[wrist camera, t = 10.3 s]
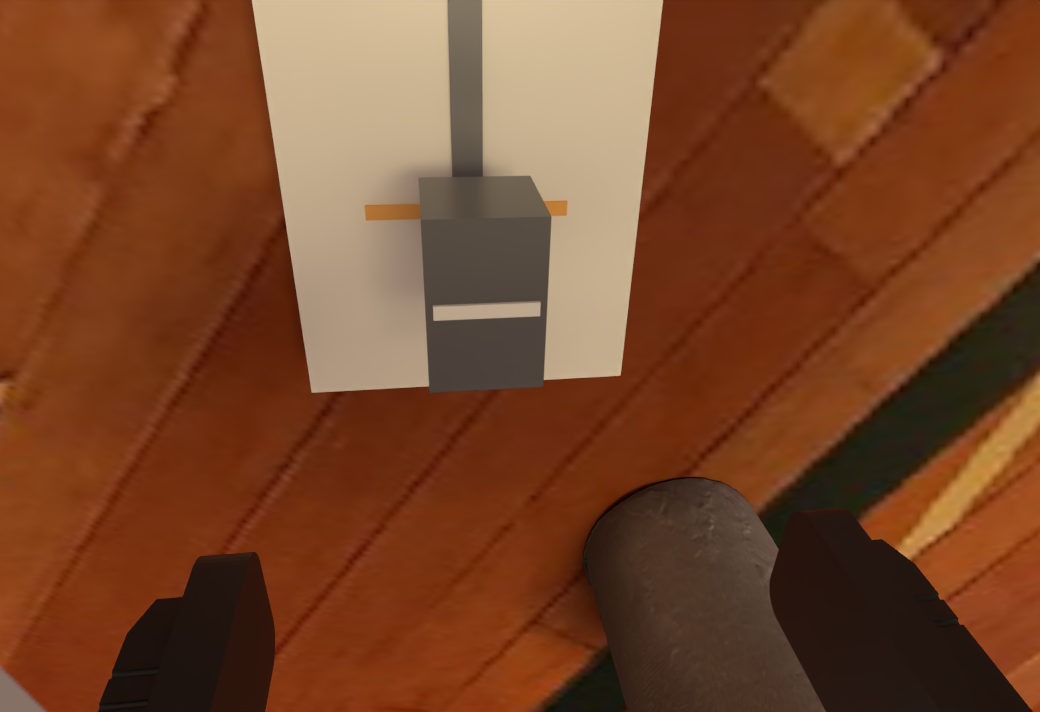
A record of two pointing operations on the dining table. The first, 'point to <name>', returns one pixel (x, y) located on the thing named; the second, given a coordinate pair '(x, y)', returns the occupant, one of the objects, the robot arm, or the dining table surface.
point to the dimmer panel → (454, 161)
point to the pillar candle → (693, 603)
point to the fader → (484, 281)
